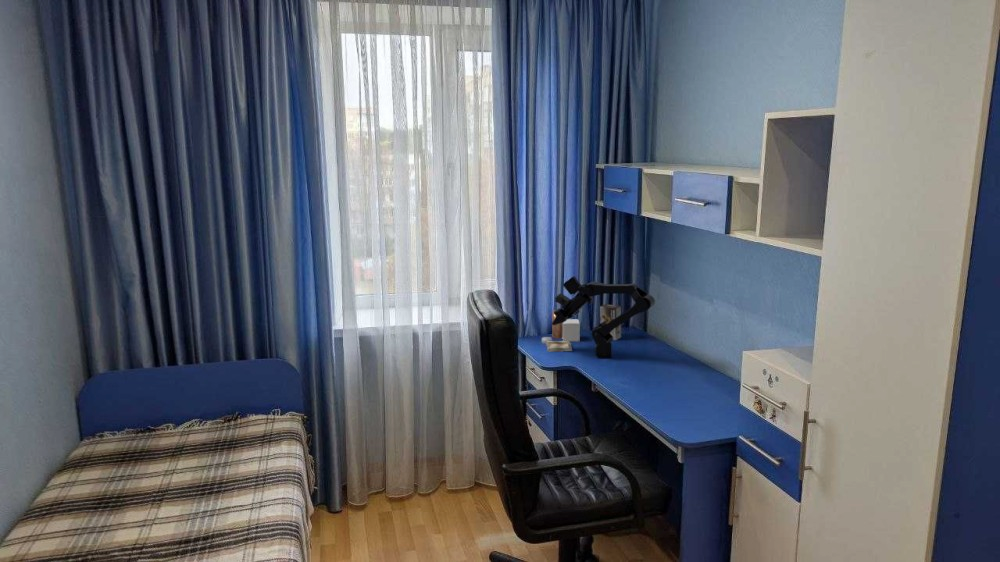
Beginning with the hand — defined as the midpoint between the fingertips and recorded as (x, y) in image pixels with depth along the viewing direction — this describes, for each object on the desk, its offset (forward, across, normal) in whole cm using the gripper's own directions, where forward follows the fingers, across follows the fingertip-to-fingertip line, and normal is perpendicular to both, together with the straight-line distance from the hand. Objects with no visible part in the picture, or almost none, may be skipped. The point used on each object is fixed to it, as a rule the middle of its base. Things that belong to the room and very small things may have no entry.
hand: (554, 323), depth 314 cm
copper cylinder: (+4, 0, +6) cm, 7 cm away
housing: (+9, -19, +9) cm, 23 cm away
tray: (+8, -2, +10) cm, 13 cm away
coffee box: (-3, -30, +21) cm, 37 cm away
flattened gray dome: (+14, -8, +4) cm, 17 cm away
